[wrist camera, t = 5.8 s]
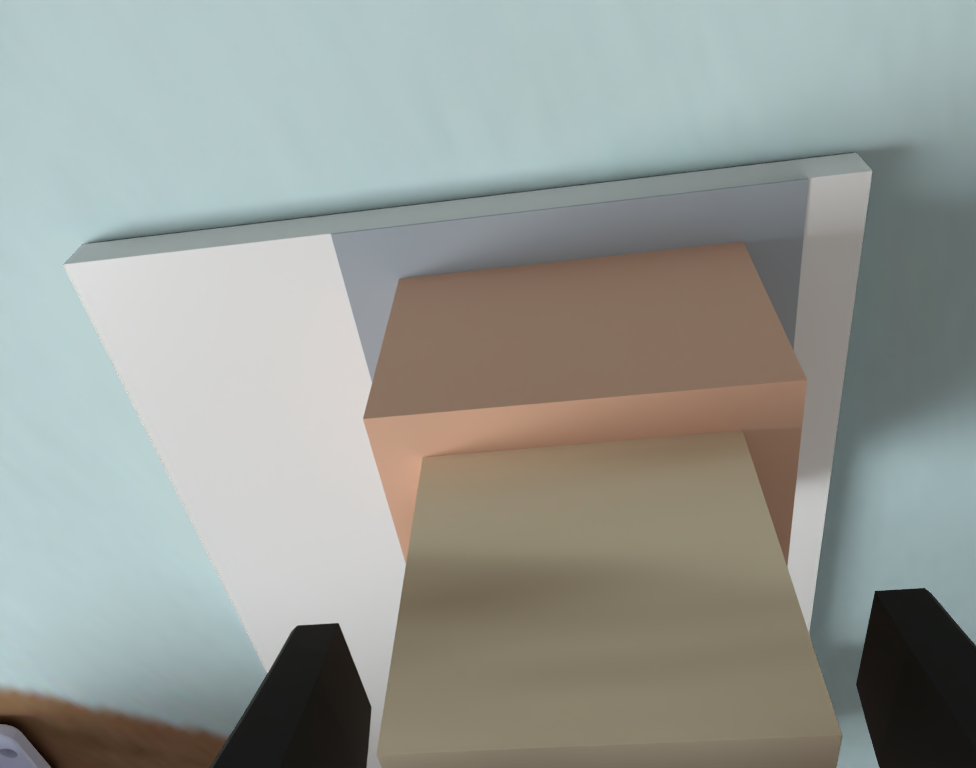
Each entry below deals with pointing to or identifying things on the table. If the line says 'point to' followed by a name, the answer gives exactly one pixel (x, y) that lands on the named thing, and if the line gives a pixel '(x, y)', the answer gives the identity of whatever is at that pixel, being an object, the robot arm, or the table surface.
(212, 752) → the table surface
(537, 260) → the mat
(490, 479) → the maple block
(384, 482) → the terracotta block
